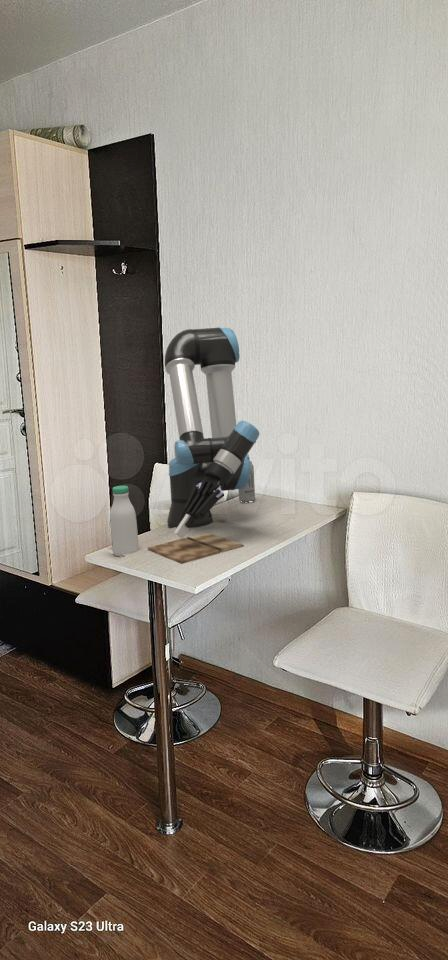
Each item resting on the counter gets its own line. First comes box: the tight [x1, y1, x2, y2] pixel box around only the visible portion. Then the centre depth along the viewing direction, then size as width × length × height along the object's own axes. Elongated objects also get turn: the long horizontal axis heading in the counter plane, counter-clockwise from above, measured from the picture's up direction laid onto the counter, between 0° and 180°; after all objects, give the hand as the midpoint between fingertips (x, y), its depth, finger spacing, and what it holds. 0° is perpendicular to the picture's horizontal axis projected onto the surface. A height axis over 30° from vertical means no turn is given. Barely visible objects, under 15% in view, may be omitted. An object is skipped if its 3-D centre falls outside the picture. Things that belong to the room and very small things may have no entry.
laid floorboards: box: [186, 532, 245, 554], centre depth 208 cm, size 18×8×2 cm, turn 37°
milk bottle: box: [109, 485, 140, 557], centre depth 204 cm, size 8×8×20 cm
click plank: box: [147, 537, 221, 565], centre depth 201 cm, size 18×2×13 cm
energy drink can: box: [238, 460, 256, 502], centre depth 260 cm, size 6×6×15 cm
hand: (178, 535), depth 199 cm, fingers closed
